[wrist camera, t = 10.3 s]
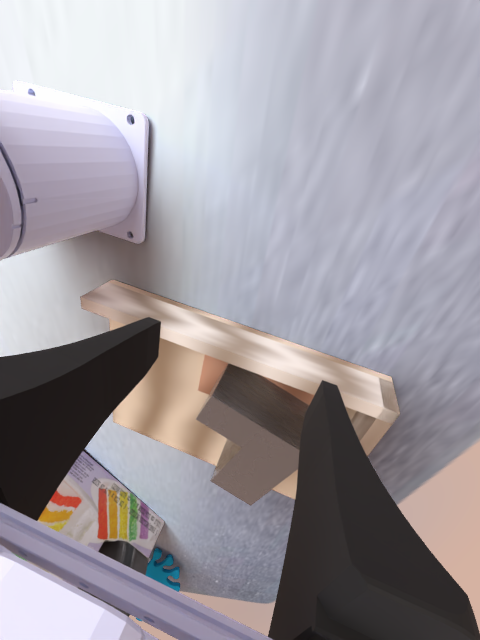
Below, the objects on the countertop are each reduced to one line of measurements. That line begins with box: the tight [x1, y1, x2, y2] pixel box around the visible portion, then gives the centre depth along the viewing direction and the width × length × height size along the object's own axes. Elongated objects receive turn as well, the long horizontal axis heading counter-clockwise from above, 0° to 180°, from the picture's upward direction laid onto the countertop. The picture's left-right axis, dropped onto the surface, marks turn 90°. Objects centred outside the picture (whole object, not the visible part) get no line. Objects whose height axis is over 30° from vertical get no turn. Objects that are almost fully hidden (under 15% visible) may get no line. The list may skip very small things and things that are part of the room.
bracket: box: [196, 363, 309, 506], centre depth 24 cm, size 9×8×4 cm
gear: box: [136, 548, 180, 621], centre depth 49 cm, size 11×6×10 cm
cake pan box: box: [13, 451, 165, 617], centre depth 35 cm, size 19×5×18 cm, turn 39°
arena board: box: [80, 279, 400, 499], centre depth 26 cm, size 23×18×4 cm
